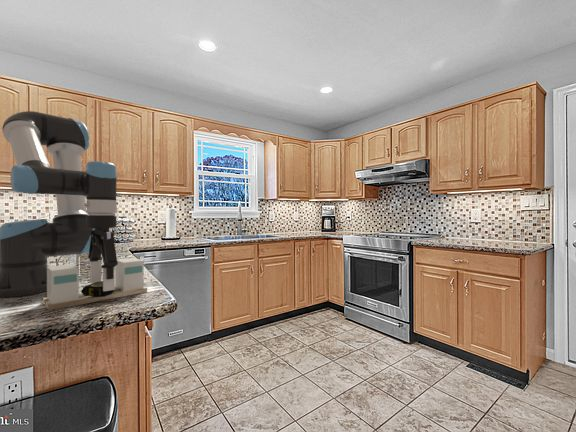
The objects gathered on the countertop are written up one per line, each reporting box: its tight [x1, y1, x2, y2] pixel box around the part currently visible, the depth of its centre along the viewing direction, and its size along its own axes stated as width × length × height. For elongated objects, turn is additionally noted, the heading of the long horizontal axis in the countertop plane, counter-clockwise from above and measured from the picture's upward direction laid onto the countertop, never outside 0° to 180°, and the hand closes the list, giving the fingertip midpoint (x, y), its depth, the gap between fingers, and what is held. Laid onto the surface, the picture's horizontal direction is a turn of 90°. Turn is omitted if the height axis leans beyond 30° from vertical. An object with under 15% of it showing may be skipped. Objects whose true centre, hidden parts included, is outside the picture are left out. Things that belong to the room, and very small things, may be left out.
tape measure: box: [80, 280, 114, 297], centre depth 86 cm, size 7×7×4 cm
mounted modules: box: [46, 257, 145, 304], centre depth 89 cm, size 8×24×9 cm, turn 137°
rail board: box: [42, 286, 148, 311], centre depth 89 cm, size 10×25×2 cm, turn 136°
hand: (101, 286), depth 87 cm, fingers open, 13 cm apart
